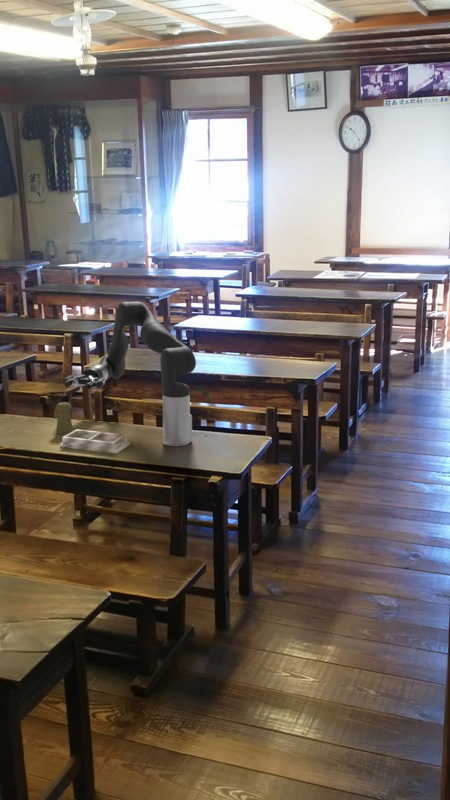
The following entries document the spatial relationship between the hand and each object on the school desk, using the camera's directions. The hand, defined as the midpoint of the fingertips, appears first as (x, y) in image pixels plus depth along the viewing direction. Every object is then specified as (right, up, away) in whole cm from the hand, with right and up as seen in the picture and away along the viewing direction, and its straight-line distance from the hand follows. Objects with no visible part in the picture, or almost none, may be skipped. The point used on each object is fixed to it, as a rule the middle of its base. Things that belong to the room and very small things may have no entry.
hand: (76, 386), depth 289 cm
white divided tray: (+10, -21, -22) cm, 32 cm away
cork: (-3, -17, -7) cm, 19 cm away
